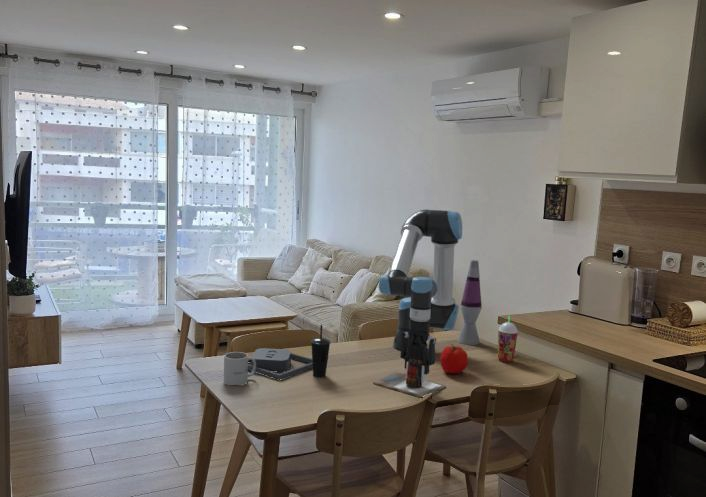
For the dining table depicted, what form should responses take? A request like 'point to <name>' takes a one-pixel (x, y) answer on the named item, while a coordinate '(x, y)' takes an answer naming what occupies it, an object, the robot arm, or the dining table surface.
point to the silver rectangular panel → (399, 384)
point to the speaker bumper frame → (288, 373)
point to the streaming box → (272, 359)
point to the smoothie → (507, 341)
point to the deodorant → (415, 366)
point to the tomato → (453, 359)
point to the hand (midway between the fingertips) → (416, 379)
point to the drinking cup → (320, 355)
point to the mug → (237, 368)
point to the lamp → (471, 306)
